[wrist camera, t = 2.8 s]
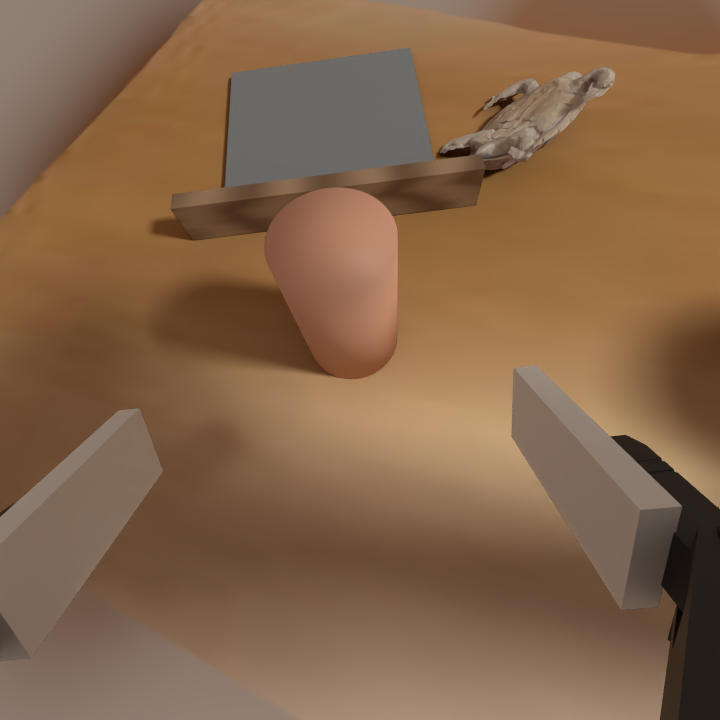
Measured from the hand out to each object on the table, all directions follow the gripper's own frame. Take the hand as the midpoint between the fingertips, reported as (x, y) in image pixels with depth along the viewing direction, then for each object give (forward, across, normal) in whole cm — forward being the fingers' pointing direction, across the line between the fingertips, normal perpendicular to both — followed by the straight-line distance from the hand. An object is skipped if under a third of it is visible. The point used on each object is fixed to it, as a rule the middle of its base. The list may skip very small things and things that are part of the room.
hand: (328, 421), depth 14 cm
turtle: (+31, +17, +10) cm, 37 cm away
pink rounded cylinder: (+18, 0, -3) cm, 18 cm away
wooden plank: (+27, -1, +6) cm, 27 cm away
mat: (+36, -1, +15) cm, 38 cm away
